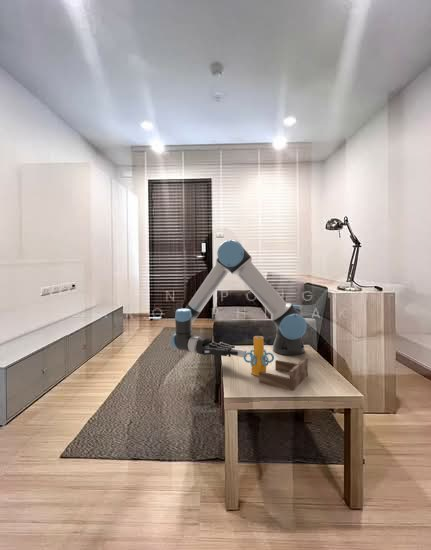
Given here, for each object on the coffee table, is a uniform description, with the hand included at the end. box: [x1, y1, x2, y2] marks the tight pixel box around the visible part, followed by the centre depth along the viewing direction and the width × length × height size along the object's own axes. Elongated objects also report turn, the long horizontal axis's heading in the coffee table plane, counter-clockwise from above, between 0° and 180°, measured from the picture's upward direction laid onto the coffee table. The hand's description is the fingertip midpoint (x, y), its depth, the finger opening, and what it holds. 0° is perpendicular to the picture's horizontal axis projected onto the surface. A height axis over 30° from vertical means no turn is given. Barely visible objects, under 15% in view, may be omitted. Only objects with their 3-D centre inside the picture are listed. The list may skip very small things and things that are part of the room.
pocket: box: [258, 357, 309, 392], centre depth 122 cm, size 16×13×7 cm
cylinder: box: [243, 335, 275, 377], centre depth 128 cm, size 12×10×15 cm
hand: (245, 353), depth 131 cm, fingers closed
